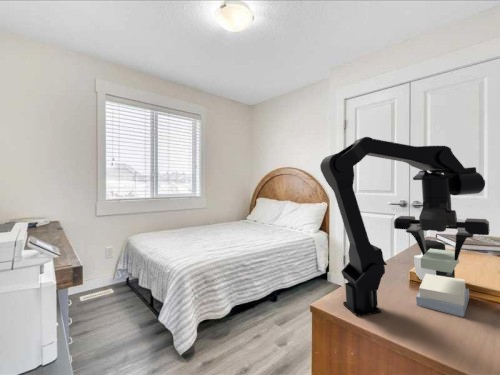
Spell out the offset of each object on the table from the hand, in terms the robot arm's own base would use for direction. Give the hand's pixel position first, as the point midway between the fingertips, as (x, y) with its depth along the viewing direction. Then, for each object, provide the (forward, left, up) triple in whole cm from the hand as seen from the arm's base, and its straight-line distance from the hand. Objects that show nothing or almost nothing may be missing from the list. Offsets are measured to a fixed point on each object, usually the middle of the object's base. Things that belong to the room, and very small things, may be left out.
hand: (439, 258), depth 63 cm
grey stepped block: (0, 0, -11) cm, 11 cm away
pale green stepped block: (0, 0, -2) cm, 2 cm away
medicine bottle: (+9, +11, -11) cm, 18 cm away
